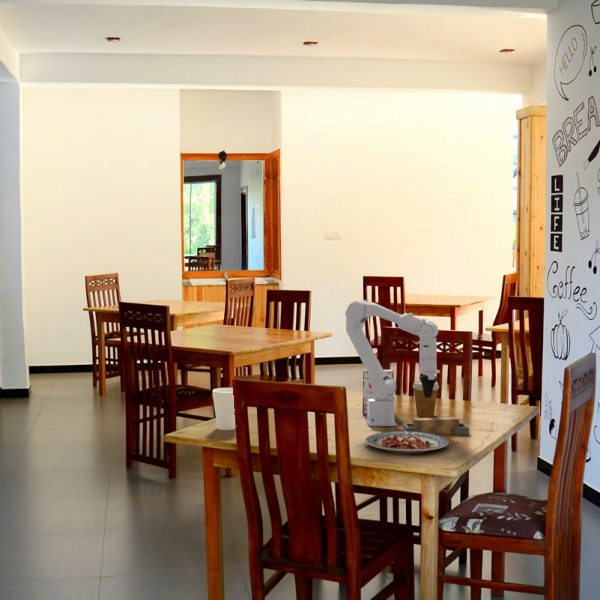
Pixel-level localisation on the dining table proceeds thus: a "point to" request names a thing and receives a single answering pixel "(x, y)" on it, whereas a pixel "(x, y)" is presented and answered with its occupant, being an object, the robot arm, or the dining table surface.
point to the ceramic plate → (406, 441)
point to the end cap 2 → (461, 429)
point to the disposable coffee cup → (425, 400)
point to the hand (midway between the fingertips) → (427, 397)
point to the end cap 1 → (410, 427)
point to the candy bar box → (370, 388)
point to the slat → (436, 424)
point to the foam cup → (224, 408)
